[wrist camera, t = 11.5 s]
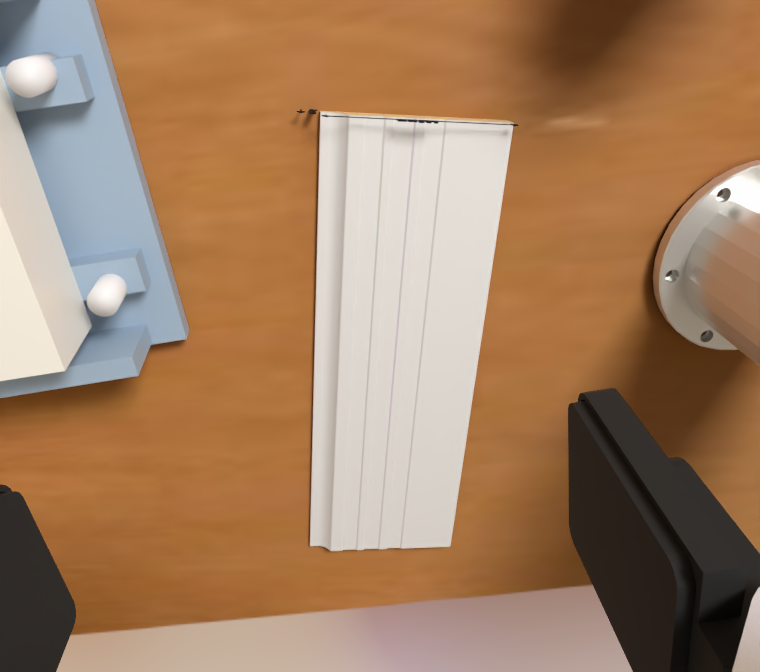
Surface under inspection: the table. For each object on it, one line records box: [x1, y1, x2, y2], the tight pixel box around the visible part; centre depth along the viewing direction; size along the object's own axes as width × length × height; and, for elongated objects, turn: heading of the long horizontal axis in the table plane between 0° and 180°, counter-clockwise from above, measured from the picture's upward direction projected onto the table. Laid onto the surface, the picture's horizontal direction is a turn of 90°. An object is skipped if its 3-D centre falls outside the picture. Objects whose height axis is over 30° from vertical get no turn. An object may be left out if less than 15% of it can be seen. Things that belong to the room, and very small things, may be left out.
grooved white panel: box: [297, 109, 518, 551], centre depth 43 cm, size 31×3×12 cm
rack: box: [0, 0, 189, 398], centre depth 34 cm, size 20×13×5 cm, turn 7°
